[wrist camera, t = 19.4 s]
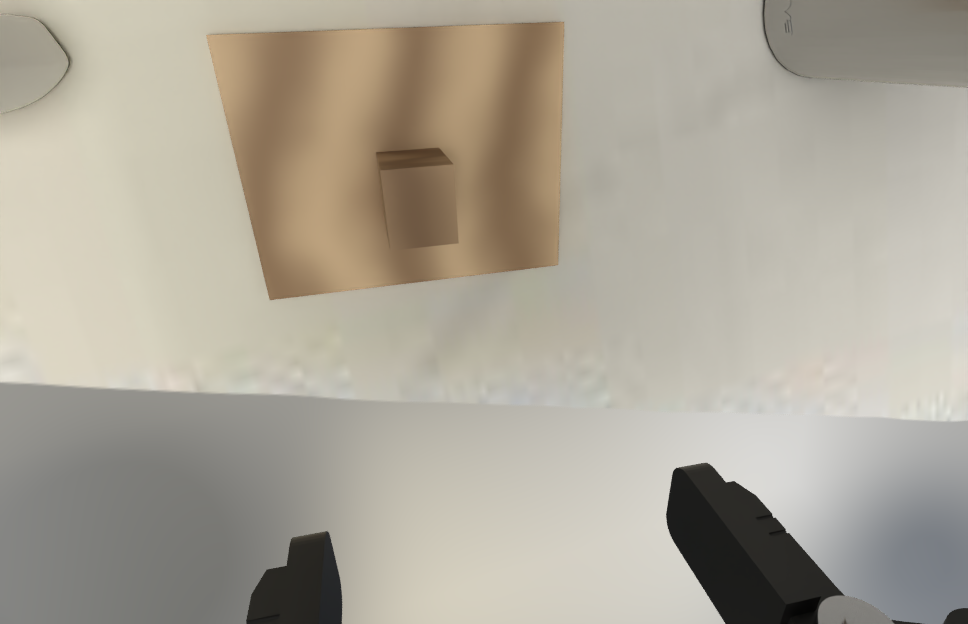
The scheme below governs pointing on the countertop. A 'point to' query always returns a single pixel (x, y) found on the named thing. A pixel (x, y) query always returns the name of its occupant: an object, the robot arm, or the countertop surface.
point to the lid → (396, 151)
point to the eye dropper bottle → (27, 61)
